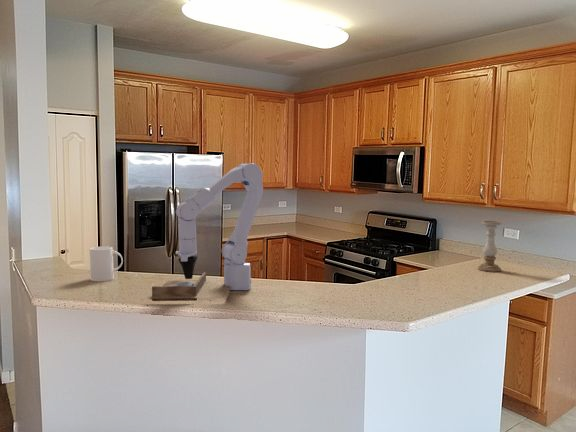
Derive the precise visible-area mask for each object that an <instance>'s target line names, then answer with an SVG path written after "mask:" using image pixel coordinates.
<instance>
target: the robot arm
mask: <svg viewBox="0 0 576 432" xmlns="http://www.w3.org/2000/svg"><path fill="white" fill-rule="evenodd" d="M263 175H264V173H263V171H262V169H261V168H260V166H259V165H258V164H256V163H253V162H250V163H240V164H238V165H237V166H236V167H233V168H231V169H230V170H229V171H227V172H226V173H225V174H224V175H223V176H221V178H219V179H218V180H216V182H215V183H213V184H212V185H211V186H210V187H203V188H198V189H196V193H195V194H193V195H192V196H190V197H187V198H185V202H180V203H179V204H178V206H177V207H176V210H175V214H176V216H177V217H178V219H177V220H178V221H177V222H178V225H177V226H178V230H177V231H178V250H176V251H175V255H179V256H180V257H179V258H178V263H179V264H180V265H181V268H182V271H183V275H184V278H185V280H193V277H194V271H195V265H196V262H197V260H198V256H196V255H198V250H197V249H198V248H197V247H198V246H197V245H198V244H197V224H196V218H197V217H198V215H199V213H201V212H202V211H203V210H204V209H206V208H207V207H208V206H210V205H211V204H212V203H214V202H215V198H216V196H217V195H219V193H221V192H222V191H224V190H225V189H227V188H228V187H230V186H231V185H232V184H234V183H239V182H240V183H241V184H243V187H244V188H245V190H246V196H245V198H244V201H243V204H242V207H241V209H240V212H239V215H238V218H237V220H236V223H235V227H234V229H233V232H232V234H231V235H230V236H229V237H228V238H227V241H226V243H225V244H223V246H222V248H221V254H222V256H223V258H224V260H223V285H224V286H227V287H229V289H228V290H229V291H249V290H251V284H252V277H251V263H250V262H246V261H245V260H246V259H247V257H248V251H247V250H248V246H249V245H248V244H249V243H248V236H249V233H250V231H251V228H252V225H253V223H254V219H255V217H256V214H257V211H258V208H259V205H260V202H261V200H262V196H263V195H264V185H263Z"/></svg>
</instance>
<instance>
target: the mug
mask: <svg viewBox="0 0 576 432" xmlns="http://www.w3.org/2000/svg"><path fill="white" fill-rule="evenodd" d="M114 254H116V255H117V256H119V257H120V259H121V263H120V264H119V265H118V266H117V267H115V268H114ZM123 262H124V260H123V256H122V254H121V253H120V252H118V251H117V250H114V249H113V246H107V245H105V246H93V247H90V248H89V265H90V266H89V267H90V278H89V280H90V281H91V282H107V281H111V280H114V279H115V275H114V272H116V271H118V270H120V268H121V267H122V266H123Z"/></svg>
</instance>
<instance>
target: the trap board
mask: <svg viewBox="0 0 576 432" xmlns="http://www.w3.org/2000/svg"><path fill="white" fill-rule="evenodd" d="M180 282H189V280H166V282H165V283H164V284H163V285H161V286H159V285H157V286H156V285H155V286H151V296H152V297H154V298H151V300H152V302H184V301H185V302H188V301H189V302H190V301H194V302H195V301H197V300H198V299H197V298H198V297H197V295H198V294H199V292H200V291H201V290H202V288H203V286H204V284H205V283H206V282H207V272H206V271H205V272H202V274H201V275H200V277H199V278H198V279H197V280H196V281H195V282H196V283H194V286H177V285H178V284H179V283H180ZM161 297H164V298H161ZM166 297H167V298H166ZM175 297H176V298H175ZM177 297H180V298H177Z"/></svg>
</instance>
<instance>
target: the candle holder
mask: <svg viewBox="0 0 576 432" xmlns="http://www.w3.org/2000/svg"><path fill="white" fill-rule="evenodd" d="M481 225H485V228H486V229H487V231H486V233H485V235H486V237H487V238H486V243H485V245H484V247H483V250H482V252H483V255H484V256H483V259H484V262H483V263H481V264H480V265H479V266H477V269H478V270H479V271H483V272H490V273H496V272H501V270H502V268H501V267H500V266H499V265H498V264H495V261H496V260H497V257H496V255H497V253H498V249H497V246H496V243H495V236H496V235H497V234H496V232H495V231H496V229H497V227H498V226H502V222H501V221H497V220H482V221H481Z"/></svg>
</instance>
